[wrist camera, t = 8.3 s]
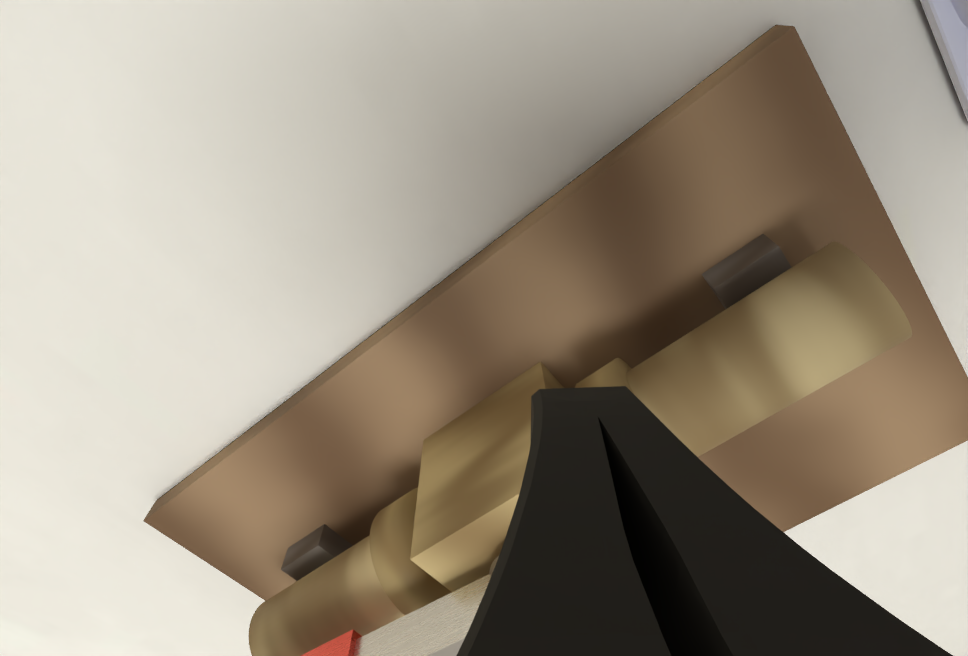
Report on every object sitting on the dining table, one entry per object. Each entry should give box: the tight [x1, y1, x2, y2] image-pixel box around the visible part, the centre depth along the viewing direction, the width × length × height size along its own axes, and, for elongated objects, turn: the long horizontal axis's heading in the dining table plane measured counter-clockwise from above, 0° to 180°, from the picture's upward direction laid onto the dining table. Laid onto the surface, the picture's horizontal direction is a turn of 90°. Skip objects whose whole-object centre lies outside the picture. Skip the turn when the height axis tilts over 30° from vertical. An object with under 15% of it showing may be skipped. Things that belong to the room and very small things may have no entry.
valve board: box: [144, 25, 968, 656], centre depth 20 cm, size 26×16×6 cm, turn 129°
